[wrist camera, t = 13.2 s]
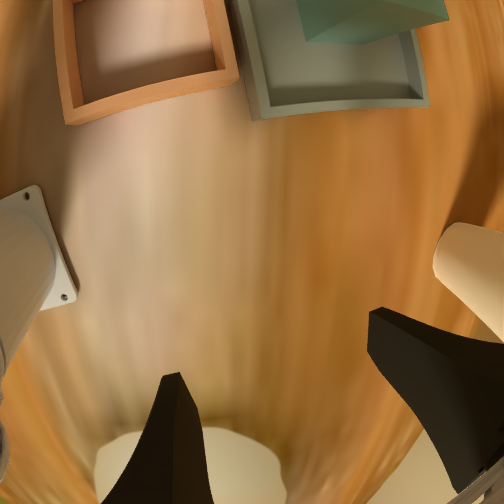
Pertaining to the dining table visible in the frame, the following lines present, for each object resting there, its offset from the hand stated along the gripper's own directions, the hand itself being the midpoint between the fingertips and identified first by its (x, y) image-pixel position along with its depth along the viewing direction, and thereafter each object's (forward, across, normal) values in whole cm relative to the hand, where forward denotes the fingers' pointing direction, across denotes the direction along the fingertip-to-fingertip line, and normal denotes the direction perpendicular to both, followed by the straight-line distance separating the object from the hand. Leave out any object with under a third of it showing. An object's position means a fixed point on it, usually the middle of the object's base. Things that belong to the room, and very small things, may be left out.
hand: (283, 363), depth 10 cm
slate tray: (+10, -10, -15) cm, 21 cm away
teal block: (+10, -9, -15) cm, 20 cm away
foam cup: (+11, -22, +6) cm, 25 cm away
